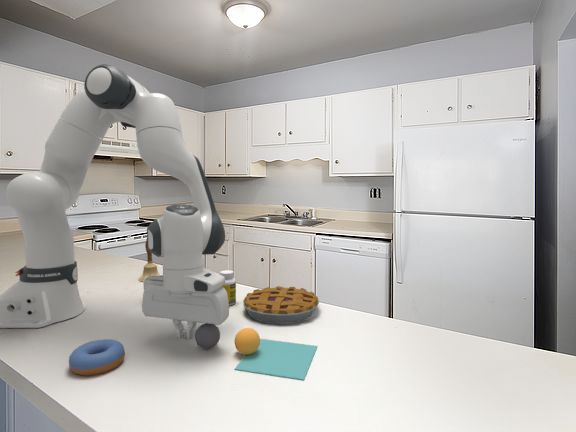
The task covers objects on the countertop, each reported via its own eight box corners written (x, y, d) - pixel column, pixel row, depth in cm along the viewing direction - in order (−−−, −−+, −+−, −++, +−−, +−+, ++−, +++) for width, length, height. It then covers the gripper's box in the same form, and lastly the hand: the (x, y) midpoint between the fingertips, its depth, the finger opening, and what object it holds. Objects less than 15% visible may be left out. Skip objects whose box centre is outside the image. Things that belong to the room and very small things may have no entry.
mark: (234, 369, 70) (234, 368, 70) (258, 339, 83) (258, 338, 83) (303, 380, 66) (303, 379, 66) (317, 346, 80) (317, 345, 80)
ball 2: (227, 343, 73) (252, 342, 72) (235, 322, 78) (258, 321, 77) (235, 360, 76) (259, 360, 75) (242, 339, 81) (265, 338, 79)
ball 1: (201, 329, 75) (208, 354, 75) (221, 319, 79) (227, 342, 79) (187, 328, 78) (193, 352, 79) (207, 318, 83) (213, 341, 83)
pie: (248, 298, 113) (248, 282, 113) (317, 299, 113) (317, 284, 112) (236, 326, 92) (236, 307, 91) (321, 327, 91) (321, 308, 90)
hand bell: (157, 282, 129) (156, 239, 127) (134, 282, 129) (133, 239, 128) (165, 276, 137) (164, 235, 136) (144, 276, 137) (142, 235, 136)
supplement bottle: (232, 307, 104) (232, 274, 104) (215, 305, 106) (214, 273, 105) (238, 301, 110) (238, 270, 109) (222, 299, 111) (221, 269, 110)
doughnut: (58, 366, 70) (59, 344, 70) (107, 349, 79) (109, 330, 78) (84, 388, 65) (85, 364, 64) (134, 367, 73) (135, 346, 73)
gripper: (134, 278, 78) (136, 338, 80) (219, 285, 73) (220, 349, 75) (152, 271, 85) (154, 327, 86) (231, 277, 79) (232, 337, 81)
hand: (185, 337), depth 80 cm, fingers closed
